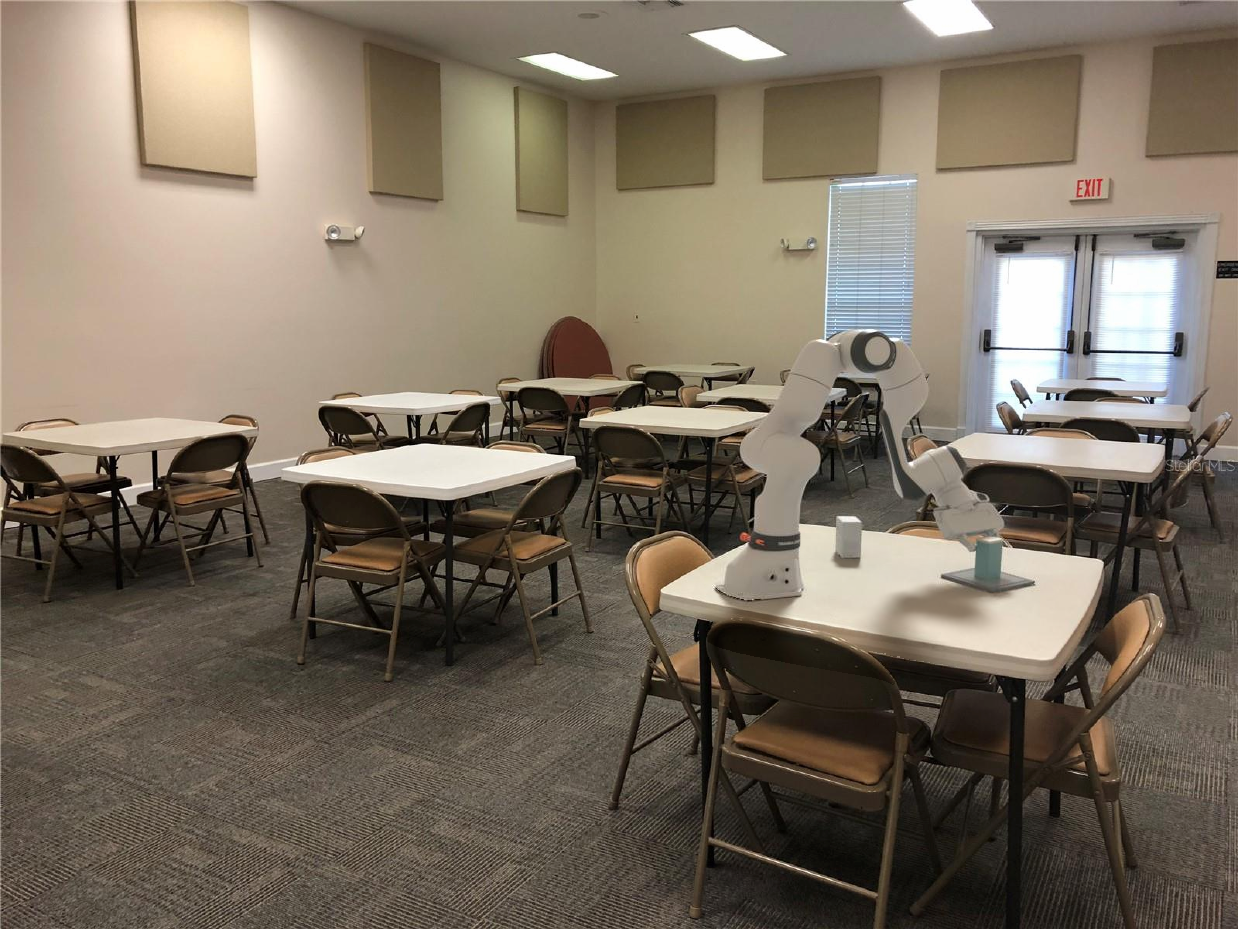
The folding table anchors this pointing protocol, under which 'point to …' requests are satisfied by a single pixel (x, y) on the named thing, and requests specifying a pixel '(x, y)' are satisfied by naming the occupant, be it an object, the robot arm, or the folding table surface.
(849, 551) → the small box
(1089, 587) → the folding table surface
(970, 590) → the folding table surface
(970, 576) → the plate
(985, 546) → the teal tin
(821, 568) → the folding table surface
